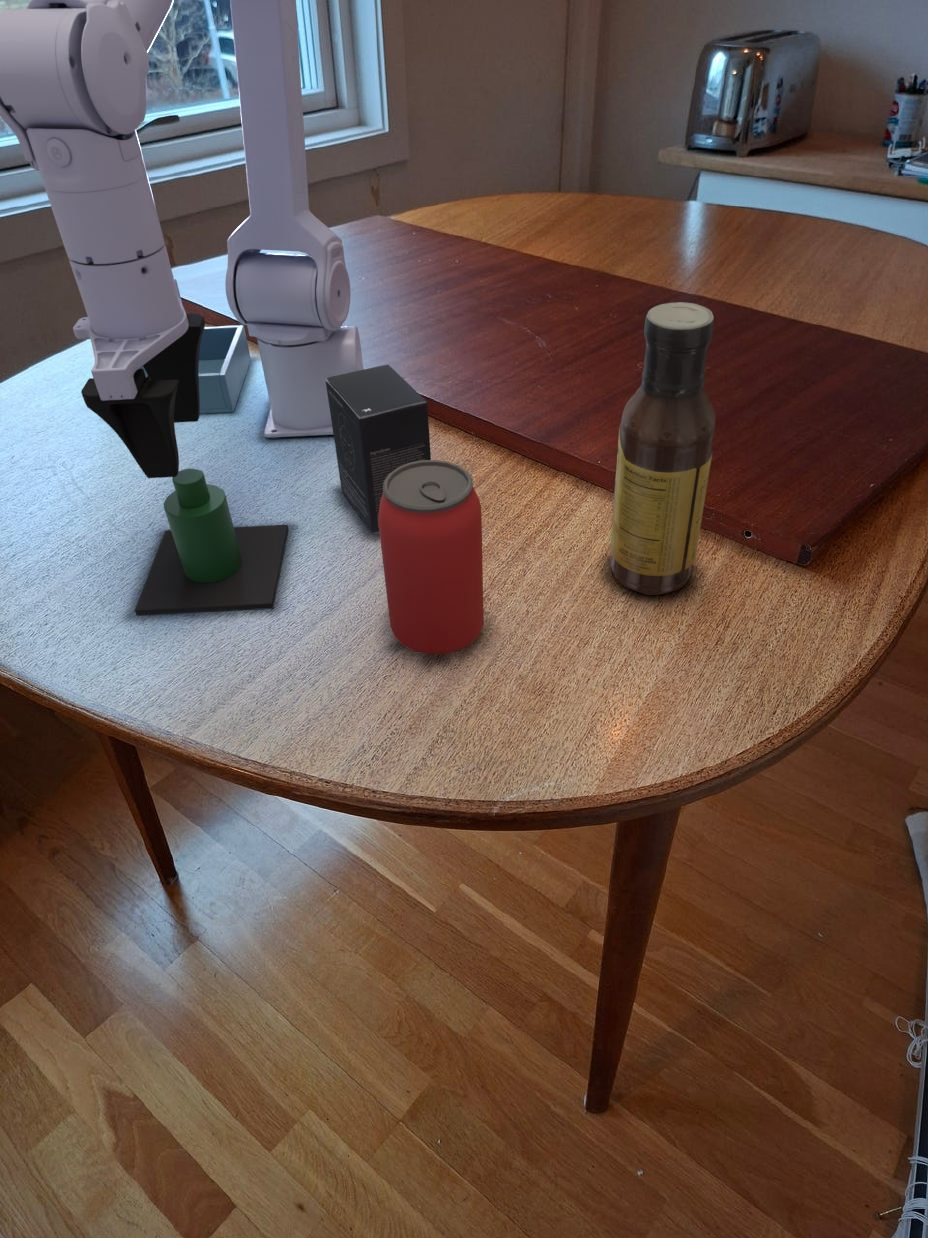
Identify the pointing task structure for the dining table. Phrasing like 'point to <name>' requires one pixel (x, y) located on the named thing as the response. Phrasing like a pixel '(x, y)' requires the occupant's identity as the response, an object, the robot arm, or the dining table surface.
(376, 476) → the box
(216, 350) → the case
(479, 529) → the beer can
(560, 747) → the dining table surface
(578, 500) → the dining table surface
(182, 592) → the mat
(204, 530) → the bottle
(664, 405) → the sauce bottle
